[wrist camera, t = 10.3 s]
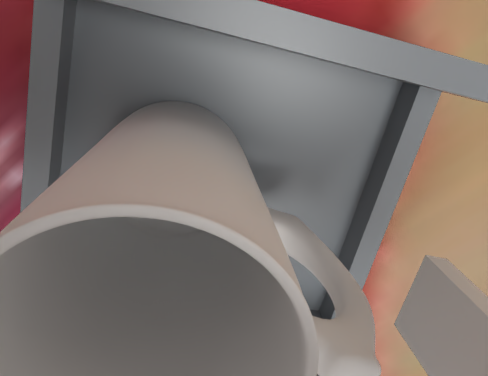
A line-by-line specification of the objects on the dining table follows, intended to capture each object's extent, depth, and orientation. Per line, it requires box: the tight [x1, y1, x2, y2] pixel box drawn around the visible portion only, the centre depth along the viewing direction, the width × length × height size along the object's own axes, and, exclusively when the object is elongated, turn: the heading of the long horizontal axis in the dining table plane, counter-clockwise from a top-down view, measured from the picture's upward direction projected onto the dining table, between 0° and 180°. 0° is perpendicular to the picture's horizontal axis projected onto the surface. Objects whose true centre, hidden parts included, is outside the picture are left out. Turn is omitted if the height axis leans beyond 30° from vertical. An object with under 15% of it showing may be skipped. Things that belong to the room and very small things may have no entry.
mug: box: [0, 101, 381, 376], centre depth 13 cm, size 10×7×12 cm, turn 70°
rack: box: [20, 0, 488, 376], centre depth 19 cm, size 16×28×7 cm, turn 166°
